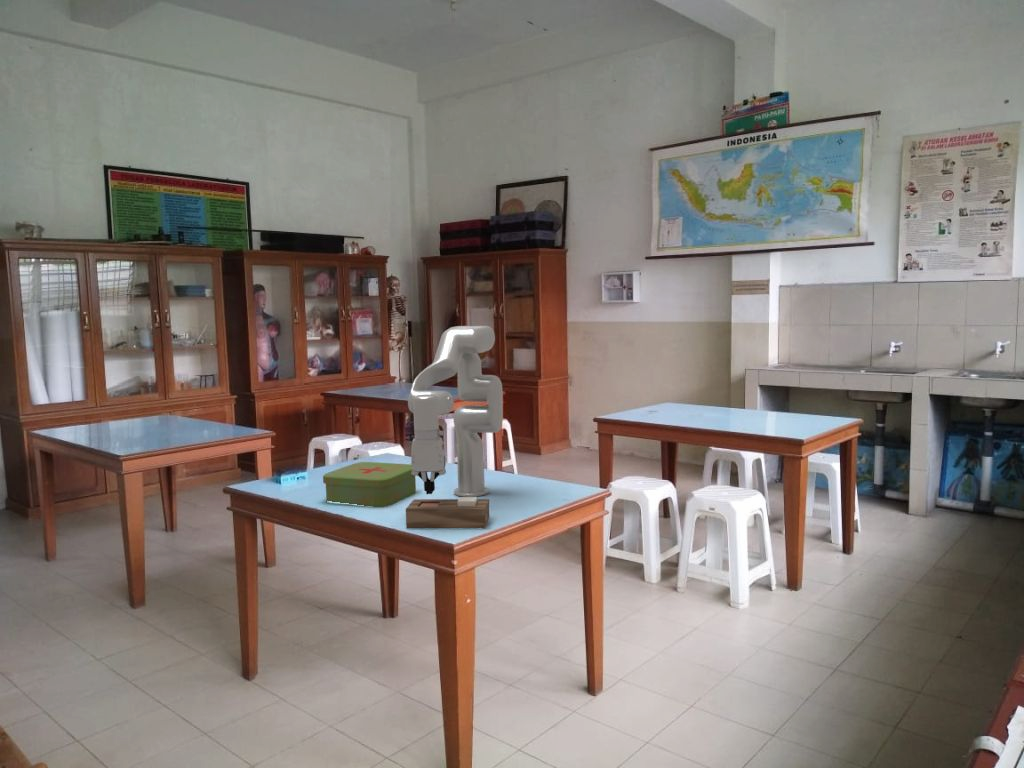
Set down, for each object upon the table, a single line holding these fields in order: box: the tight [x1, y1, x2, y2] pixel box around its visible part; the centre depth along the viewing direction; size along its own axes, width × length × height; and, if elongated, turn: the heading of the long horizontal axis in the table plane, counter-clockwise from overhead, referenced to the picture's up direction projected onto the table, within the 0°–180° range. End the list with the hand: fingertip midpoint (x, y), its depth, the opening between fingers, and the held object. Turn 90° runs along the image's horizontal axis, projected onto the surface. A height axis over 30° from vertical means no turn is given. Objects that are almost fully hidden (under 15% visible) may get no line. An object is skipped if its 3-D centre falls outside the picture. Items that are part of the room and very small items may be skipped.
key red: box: [420, 503, 439, 507], centre depth 234 cm, size 5×5×4 cm
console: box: [405, 498, 491, 530], centre depth 234 cm, size 12×24×6 cm, turn 86°
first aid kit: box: [322, 461, 417, 508], centre depth 270 cm, size 26×26×10 cm
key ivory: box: [457, 496, 478, 506], centre depth 233 cm, size 5×5×4 cm
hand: (429, 493), depth 234 cm, fingers closed
